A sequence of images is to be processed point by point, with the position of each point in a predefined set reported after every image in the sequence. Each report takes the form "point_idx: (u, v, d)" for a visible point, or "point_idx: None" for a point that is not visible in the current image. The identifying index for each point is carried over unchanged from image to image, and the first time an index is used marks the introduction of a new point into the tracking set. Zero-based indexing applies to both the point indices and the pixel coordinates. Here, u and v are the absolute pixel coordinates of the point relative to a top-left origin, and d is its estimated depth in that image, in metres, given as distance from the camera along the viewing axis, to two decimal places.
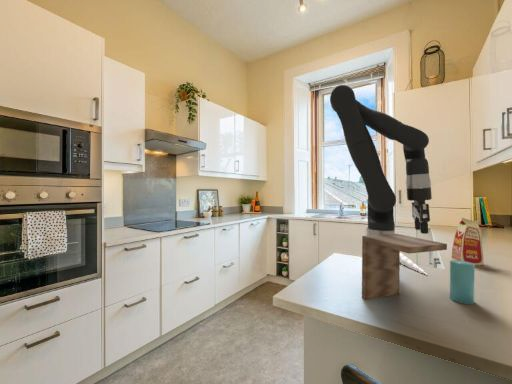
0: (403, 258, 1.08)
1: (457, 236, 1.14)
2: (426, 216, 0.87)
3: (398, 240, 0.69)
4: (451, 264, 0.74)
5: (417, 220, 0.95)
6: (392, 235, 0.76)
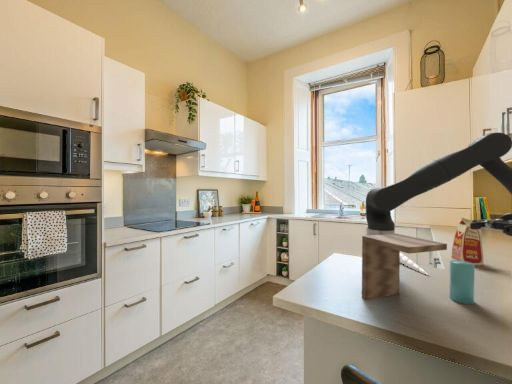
0: (403, 258, 1.08)
1: (457, 236, 1.14)
2: None
3: (398, 240, 0.69)
4: (451, 264, 0.74)
5: (480, 224, 0.82)
6: (392, 235, 0.76)
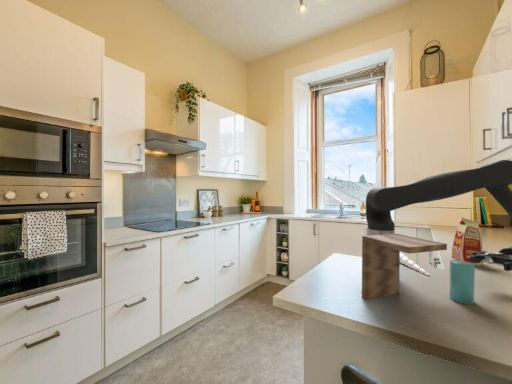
0: (404, 258, 1.08)
1: (457, 236, 1.14)
2: None
3: (398, 240, 0.69)
4: (451, 264, 0.74)
5: (480, 257, 0.82)
6: (392, 235, 0.76)
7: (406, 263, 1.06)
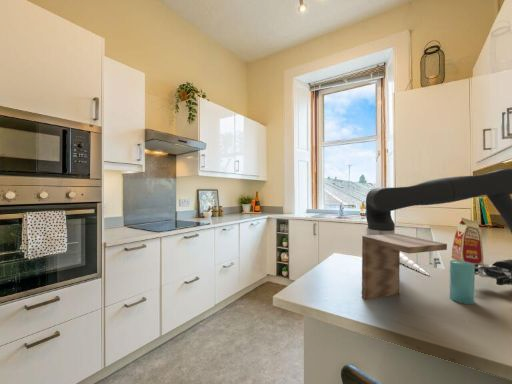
0: (404, 258, 1.08)
1: (457, 236, 1.14)
2: None
3: (398, 240, 0.69)
4: (451, 264, 0.74)
5: None
6: (392, 235, 0.76)
7: (406, 263, 1.06)
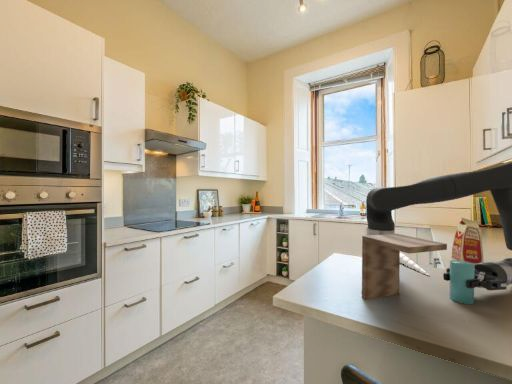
0: (404, 258, 1.08)
1: (457, 236, 1.14)
2: None
3: (398, 240, 0.69)
4: (451, 264, 0.74)
5: None
6: (392, 235, 0.76)
7: (406, 263, 1.05)
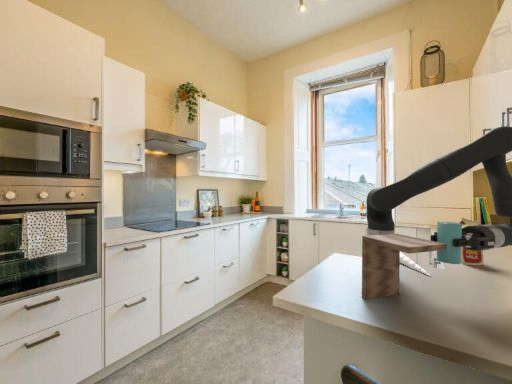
0: (405, 259, 1.07)
1: None
2: None
3: (398, 240, 0.69)
4: (438, 225, 0.72)
5: None
6: (392, 235, 0.76)
7: (407, 263, 1.05)
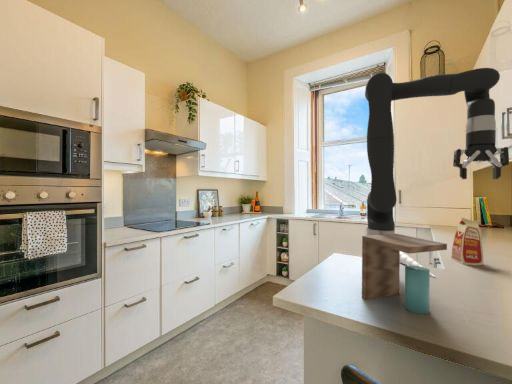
0: (408, 259, 1.06)
1: (457, 236, 1.14)
2: None
3: (398, 240, 0.69)
4: (405, 270, 0.69)
5: None
6: (392, 235, 0.76)
7: (411, 264, 1.04)
